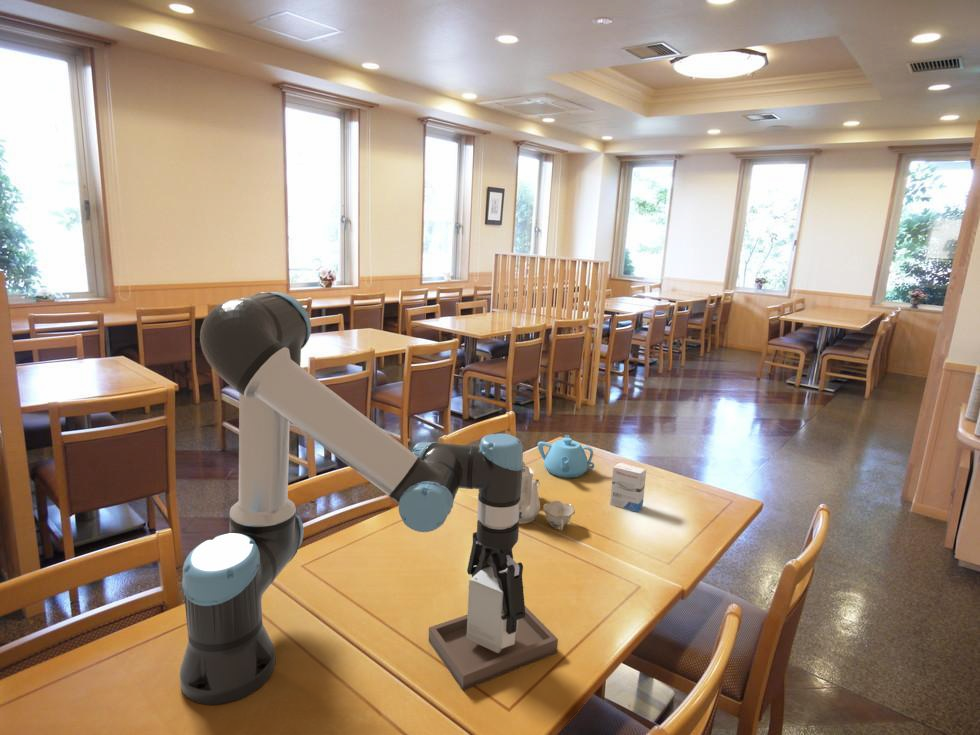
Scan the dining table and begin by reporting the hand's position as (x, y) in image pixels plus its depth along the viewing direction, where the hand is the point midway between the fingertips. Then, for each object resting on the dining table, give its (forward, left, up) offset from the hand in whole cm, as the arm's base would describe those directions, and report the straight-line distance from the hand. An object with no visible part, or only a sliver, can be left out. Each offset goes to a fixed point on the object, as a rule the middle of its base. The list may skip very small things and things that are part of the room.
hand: (492, 628), depth 111 cm
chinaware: (+36, +41, -4) cm, 55 cm away
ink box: (+65, +33, -4) cm, 73 cm away
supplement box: (0, 0, -2) cm, 2 cm away
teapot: (+64, +61, -4) cm, 89 cm away
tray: (0, 0, -4) cm, 4 cm away
